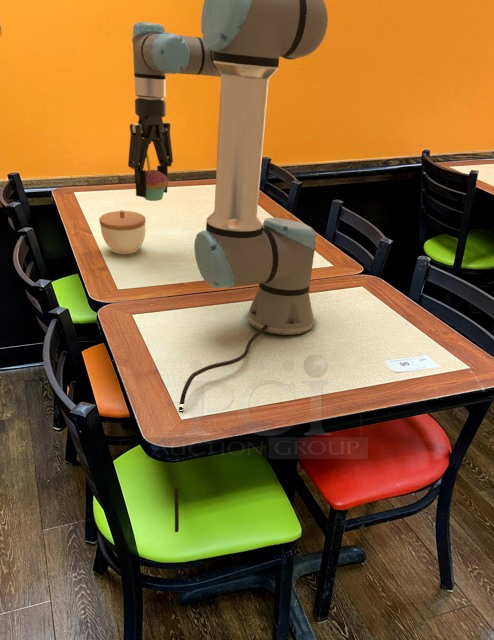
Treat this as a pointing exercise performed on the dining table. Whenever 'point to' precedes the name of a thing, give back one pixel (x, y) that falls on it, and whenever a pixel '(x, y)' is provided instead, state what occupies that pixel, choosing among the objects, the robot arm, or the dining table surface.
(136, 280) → the dining table surface
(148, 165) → the cupcake
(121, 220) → the lidded bowl
